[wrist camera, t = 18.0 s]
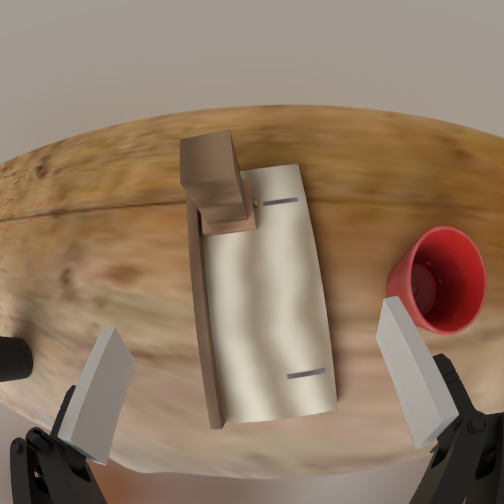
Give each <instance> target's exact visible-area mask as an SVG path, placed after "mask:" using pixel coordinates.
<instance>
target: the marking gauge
mask: <svg viewBox="0 0 504 504" xmlns="http://www.w3.org/2000/svg"><path fill="white" fill-rule="evenodd" d="M180 183H181V184H182V186H183V187H184V189H185V190H186V192H187V193H188V195H189V196H190V198H191V199H192V201H193V202H194V204H195V205H196V207H197V208H198V210H199V211H200V213H201V217H202V231H203V234H204V236H205V237H210V236H216V235H223V234H230V233H236V232H243V231H250V230H257V229H256V222H255V215H254V208H257V207H258V200H257V198H253V199H252V193H251V186H250V180H249V178H247V179H242V178H241V174H240V170H239V166H238V162H237V157H236V153H235V149H234V145H233V141H232V137H231V133H230V130H227V131H221V132H216V133H210V134H205V135H200V136H195V137H190V138H186V139H181V140H180ZM253 207H254V208H253Z"/></svg>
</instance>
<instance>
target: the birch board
mask: <svg viewBox="0 0 504 504" xmlns="http://www.w3.org/2000/svg"><path fill="white" fill-rule="evenodd" d="M240 174H241V178H242V179H247V178H249V180H250V186H251V193H252V199H253V198H257V200H258V207H257V208H254V207H253V208H254V215H255V222H256V229H257V230H250V231H243V232H236V233H230V234H223V235H216V236H210V237H205V236H204V234H203V231H202V217H201V213H200V211H199V210H198V208H197V207H196V205H195V204H194V202H193V201H192V199H191V198H190V196H189V195H188V193H187V192H186V199H187V221H188V239H189V254H190V268H191V280H192V291H193V302H194V312H195V321H196V330H197V338H198V347H199V354H200V362H201V369H202V376H203V383H204V390H205V396H206V403H207V409H208V415H209V420H210V426H211V429H222V428H223V426H224V424H229V423H246V422H258V421H268V420H277V419H285V418H292V417H299V416H305V415H311V414H317V413H323V412H328V411H333V410H337V397H336V386H335V376H334V367H333V358H332V350H331V342H330V334H329V326H328V319H327V312H326V305H325V299H324V292H323V286H322V280H321V274H320V268H319V262H318V257H317V251H316V246H315V241H314V235H313V230H312V225H311V220H310V215H309V210H308V206H307V201H306V196H305V192H304V187H303V183H302V178H301V174H300V170H299V165H298V164H290V165H282V166H274V167H267V168H259V169H252V170H246V171H240Z"/></svg>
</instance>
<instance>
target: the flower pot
mask: <svg viewBox="0 0 504 504" xmlns="http://www.w3.org/2000/svg"><path fill="white" fill-rule="evenodd" d="M486 288H487V276H486V269H485V264H484V261H483V258H482V255H481V253H480V251H479V249H478V247H477V246H476V245H475V243H474V242H473V241H472V239H471V238H470V237H469V236H468V235H467V234H465V233H464V232H463V231H461V230H459V229H457V228H455V227H451V226H437V227H434V228H432V229H430V230H428V231H427V232H425V233H424V234H423V235H422V236H421V237H420V238H419V239H418V240H417V241H416V242H415V243H414V245H413V246H412V247H411V248H410V249H409V251H408V252H407V253H406V254H405V255H404V257H403V258H402V259H401V260H400V262H399V263H398V264H397V265H396V267H395V268H394V269H393V271H392V272H391V274H390V276H389V278H388V281H387V287H386V292H387V298H389V297H394V296H398V297H399V299H400V300H401V302H402V304H403V305H404V307H405V309H406V310H407V312H408V314H409V315H410V317H411V319H412V321H413V322H414V324H415V325H416V326H419V327H421V328H424V329H426V330H429V331H431V332H434V333H437V334H442V335H451V334H456V333H458V332H461V331H463V330H464V329H466V328H467V327H468V326H469V325H471V324H472V323H473V321H474V320H475V319H476V318H477V316H478V314H479V313H480V311H481V309H482V306H483V304H484V300H485V296H486Z"/></svg>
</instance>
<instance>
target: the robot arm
mask: <svg viewBox="0 0 504 504" xmlns="http://www.w3.org/2000/svg"><path fill="white" fill-rule="evenodd" d="M376 341H377V343H378V346H379V348H380V350H381V353H382V355H383V358H384V360H385V363H386V365H387V368H388V370H389V373H390V376H391V378H392V381H393V384H394V386H395V389H396V392H397V394H398V397H399V400H400V403H401V406H402V408H403V411H404V414H405V417H406V420H407V423H408V426H409V429H410V432H411V436H412V439H413V442H414V445H415V449H418V448H421V447H423V446H426V445H428V444H431V443H432V442H433V441H434V440H435V439H436V438H437V440H438V444H437V445H436V446H435V447H434V448H433V449H432V450H431V452H430V453H433V452H434V451H435V452H434V454H433V456H432V459H431V461H430V463H429V466H428V468H427V470H426V472H425V474H424V476H423V478H422V480H421V483H420V484H419V486H418V488H417V490H416V492H415V494H414V496H413V497H412V499H411V501H410V503H409V504H463V502H464V499H465V497H466V500H465V504H504V412H502V413H496V414H489V415H485V414H484V413H482V412H480V411H477V410H476V409H475V408H474V406H473V405H472V402H471V400H470V398H469V396H468V394H467V392H466V390H465V388H464V386H463V384H462V382H461V380H460V379H459V376H458V374H457V372H456V370H455V368H454V366H453V364H452V362H451V361H450V360H449V359H448V358H447V357H446V356H445V355H444V354H443V353H441V354H438V355H435V356H432V355H431V354H430V352H429V350H428V348H427V346H426V344H425V342H424V340H423V339H422V337H421V335H420V333H419V331H418V329H417V328H416V326H415V324H414V322H413V321H412V319H411V317H410V315H409V314H408V312H407V310H406V309H405V307H404V305H403V304H402V302H401V300H400V299H399V297H398V296H394V297H389V298H384V299H383V305H382V310H381V315H380V320H379V324H378V329H377V333H376ZM135 362H136V361H135V359H134V357H133V356H132V354H131V353H130V351H129V350H128V348H127V346H126V345H125V343H124V342H123V340H122V338H121V337H120V335H119V333H118V331H117V330H116V328H115V327H103V329H102V331H101V333H100V335H99V337H98V339H97V341H96V343H95V346H94V348H93V350H92V352H91V354H90V356H89V358H88V361H87V363H86V365H85V367H84V370H83V372H82V374H81V376H80V379H79V381H78V383H77V386H75V385H72V387H71V388H70V389H69V390H68V391H67V393H66V395H65V397H64V400H63V403H62V405H61V407H60V410H59V412H58V415H57V417H56V420H55V423H54V425H53V428H52V431H51V434H50V435H48V434H47V433H45V432H44V431H43V430H41V429H40V428H38V427H34V428H32V429H30V430H29V431H28V433H27V434H26V437H25V440H24V439H22V438H16V439H14V440H13V441H12V443H11V447H10V469H11V486H12V496H13V504H107V502H106V500H105V498H104V496H103V494H102V492H101V490H100V488H99V486H98V484H97V482H96V480H95V478H94V476H93V473H92V471H91V469H90V467H89V465H88V463H87V462H86V461H85V460H86V457H87V458H88V459H90V460H92V461H93V462H96V463H99V464H103V465H106V464H107V460H108V456H109V452H110V448H111V444H112V440H113V436H114V432H115V428H116V425H117V421H118V418H119V414H120V411H121V407H122V404H123V400H124V397H125V394H126V391H127V387H128V384H129V381H130V378H131V375H132V372H133V368H134V365H135ZM34 471H35V472H37V473H38V477H35V473H34Z"/></svg>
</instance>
